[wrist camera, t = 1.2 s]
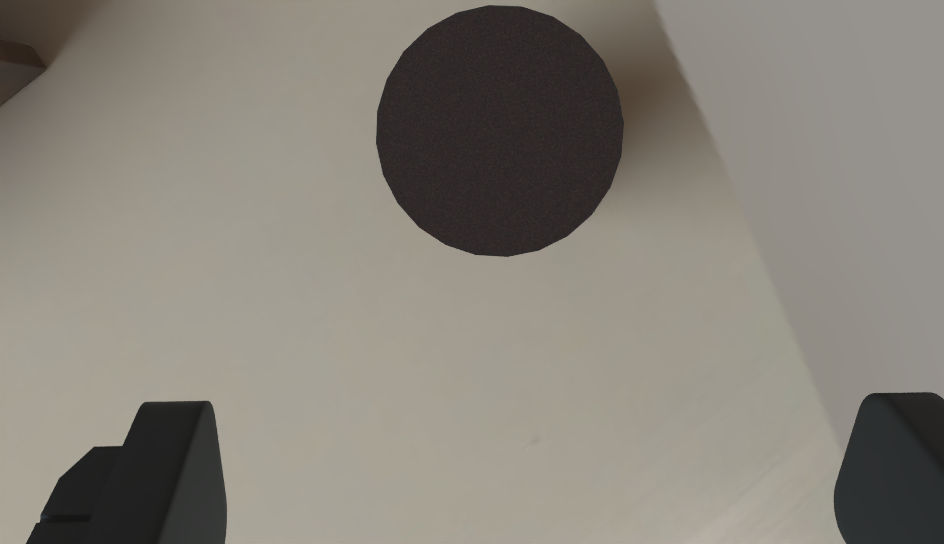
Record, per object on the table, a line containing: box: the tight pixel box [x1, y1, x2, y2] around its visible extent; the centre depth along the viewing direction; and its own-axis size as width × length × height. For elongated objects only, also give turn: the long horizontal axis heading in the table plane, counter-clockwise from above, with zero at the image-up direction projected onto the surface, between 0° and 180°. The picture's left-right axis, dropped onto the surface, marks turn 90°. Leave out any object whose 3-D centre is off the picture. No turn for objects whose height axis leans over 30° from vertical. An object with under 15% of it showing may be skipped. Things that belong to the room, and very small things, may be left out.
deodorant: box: [376, 5, 624, 257], centre depth 28 cm, size 6×6×15 cm
